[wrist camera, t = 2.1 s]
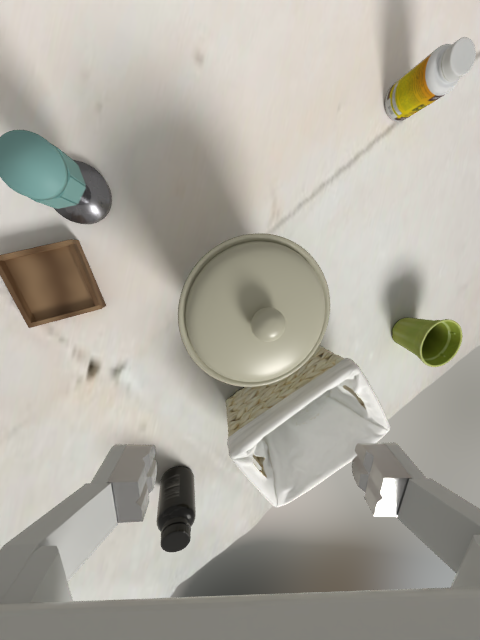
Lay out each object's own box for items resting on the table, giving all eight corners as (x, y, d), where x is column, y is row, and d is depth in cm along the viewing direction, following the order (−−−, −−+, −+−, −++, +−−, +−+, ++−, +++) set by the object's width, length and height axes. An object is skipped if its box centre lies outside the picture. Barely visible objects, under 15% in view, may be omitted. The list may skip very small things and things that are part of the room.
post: (64, 229, 35) (13, 219, 25) (38, 168, 33) (-31, 129, 22) (120, 217, 36) (93, 202, 26) (98, 158, 34) (59, 115, 23)
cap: (41, 212, 28) (12, 203, 24) (16, 156, 27) (-21, 135, 22) (92, 201, 29) (73, 191, 24) (71, 147, 27) (47, 125, 23)
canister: (265, 227, 41) (338, 201, 21) (291, 321, 47) (367, 370, 27) (164, 262, 39) (140, 270, 19) (204, 355, 45) (217, 436, 25)
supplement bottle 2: (390, 130, 41) (452, 92, 32) (378, 96, 39) (440, 45, 30) (416, 110, 41) (485, 66, 32) (404, 75, 39) (474, 17, 30)
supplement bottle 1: (157, 489, 50) (148, 557, 39) (165, 463, 49) (159, 525, 38) (189, 491, 52) (189, 557, 41) (198, 466, 51) (201, 526, 40)
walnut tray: (38, 323, 38) (28, 327, 35) (3, 257, 34) (-10, 257, 32) (106, 305, 39) (101, 308, 37) (78, 240, 36) (71, 239, 34)
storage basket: (255, 447, 53) (279, 516, 39) (213, 398, 48) (224, 458, 34) (342, 386, 54) (396, 431, 40) (311, 330, 48) (361, 361, 34)
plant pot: (376, 338, 52) (411, 354, 44) (402, 301, 51) (443, 310, 43) (402, 356, 55) (440, 374, 47) (428, 322, 54) (470, 334, 46)
